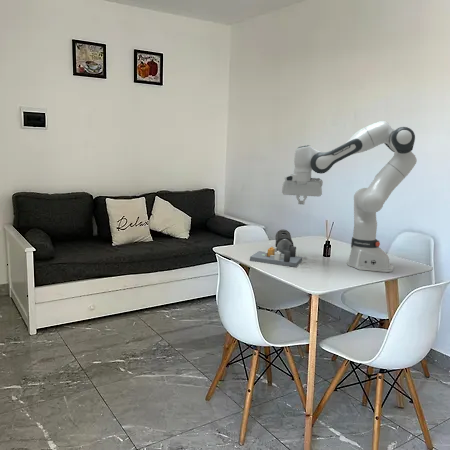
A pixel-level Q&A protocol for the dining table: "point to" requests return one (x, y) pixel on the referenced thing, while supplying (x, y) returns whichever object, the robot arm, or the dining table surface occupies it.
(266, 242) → the dining table surface
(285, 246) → the muzzle brake
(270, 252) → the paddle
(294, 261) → the panel
